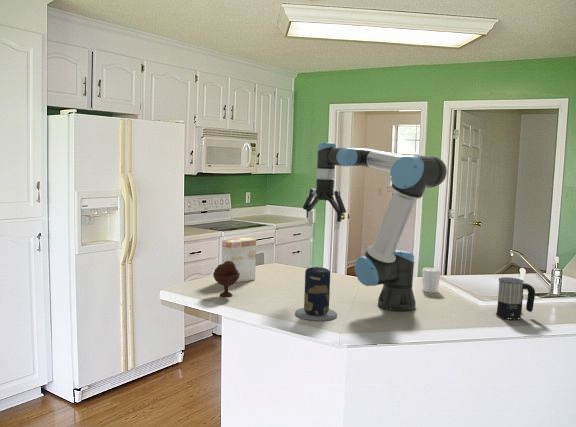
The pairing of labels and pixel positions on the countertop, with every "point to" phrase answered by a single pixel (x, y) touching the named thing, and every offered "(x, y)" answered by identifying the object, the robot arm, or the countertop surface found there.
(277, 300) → the countertop surface
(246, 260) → the coffeecake box
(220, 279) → the ice cream bowl
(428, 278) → the white cup
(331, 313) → the disc
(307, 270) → the canister
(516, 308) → the milk frother
